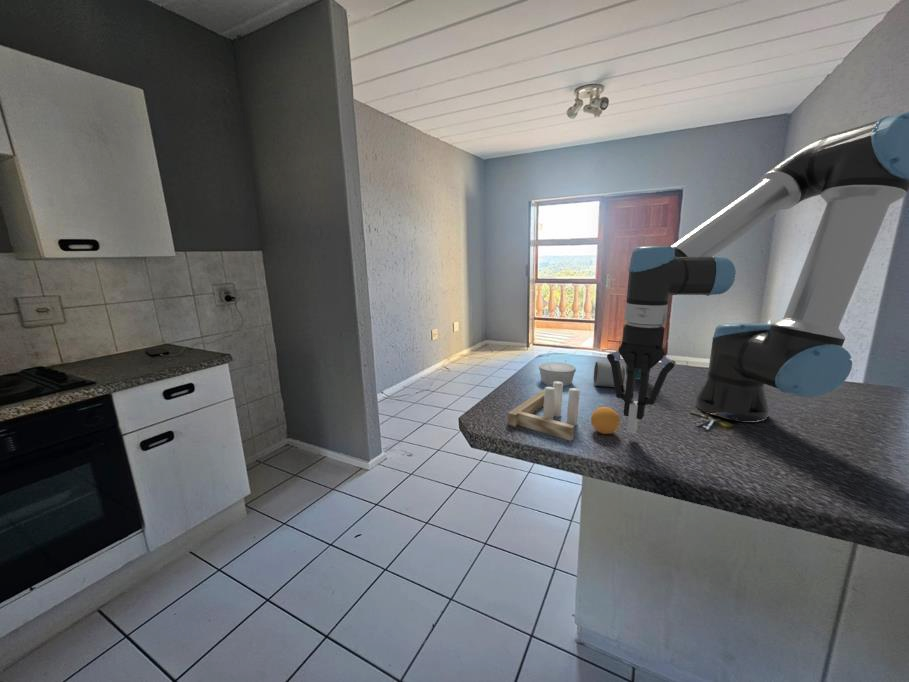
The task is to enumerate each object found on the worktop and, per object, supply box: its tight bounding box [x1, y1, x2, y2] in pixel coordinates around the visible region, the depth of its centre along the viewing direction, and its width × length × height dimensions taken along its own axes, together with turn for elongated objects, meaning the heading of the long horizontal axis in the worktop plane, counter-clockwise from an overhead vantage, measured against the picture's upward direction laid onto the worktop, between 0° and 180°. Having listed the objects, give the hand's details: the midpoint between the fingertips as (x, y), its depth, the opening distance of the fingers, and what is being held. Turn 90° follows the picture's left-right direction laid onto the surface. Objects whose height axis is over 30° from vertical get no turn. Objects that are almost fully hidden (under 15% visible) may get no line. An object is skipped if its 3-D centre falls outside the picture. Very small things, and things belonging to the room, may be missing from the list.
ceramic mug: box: [593, 360, 626, 388], centre depth 115 cm, size 11×8×8 cm
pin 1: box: [542, 386, 555, 420], centre depth 88 cm, size 2×2×8 cm
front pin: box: [566, 387, 581, 426], centre depth 87 cm, size 2×2×8 cm
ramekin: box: [538, 361, 577, 387], centre depth 118 cm, size 11×11×5 cm
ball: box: [590, 406, 621, 435], centre depth 83 cm, size 6×6×6 cm
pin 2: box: [552, 381, 564, 418], centre depth 92 cm, size 2×2×8 cm
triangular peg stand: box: [507, 389, 575, 442], centre depth 91 cm, size 15×20×3 cm
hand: (631, 430), depth 80 cm, fingers closed
